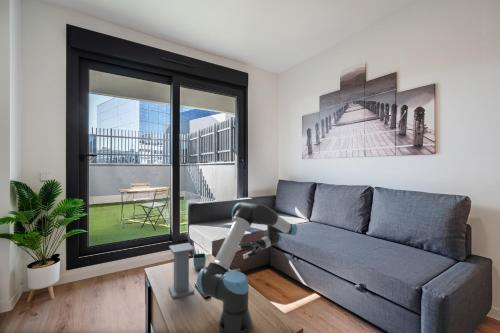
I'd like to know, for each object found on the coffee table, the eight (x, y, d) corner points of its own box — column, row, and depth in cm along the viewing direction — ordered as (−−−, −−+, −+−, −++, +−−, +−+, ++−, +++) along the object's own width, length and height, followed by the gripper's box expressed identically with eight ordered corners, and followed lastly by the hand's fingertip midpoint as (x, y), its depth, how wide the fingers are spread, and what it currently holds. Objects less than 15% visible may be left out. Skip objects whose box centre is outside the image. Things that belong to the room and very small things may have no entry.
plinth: (188, 284, 144) (188, 242, 144) (194, 293, 134) (194, 248, 134) (168, 289, 138) (168, 245, 138) (172, 299, 128) (173, 252, 128)
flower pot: (193, 271, 162) (193, 258, 162) (192, 266, 170) (193, 254, 170) (205, 270, 164) (205, 257, 164) (204, 265, 172) (205, 253, 173)
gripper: (274, 253, 155) (249, 265, 144) (253, 243, 176) (229, 253, 164) (273, 242, 155) (247, 253, 143) (252, 234, 176) (228, 243, 164)
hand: (237, 253), depth 154 cm, fingers open, 13 cm apart
